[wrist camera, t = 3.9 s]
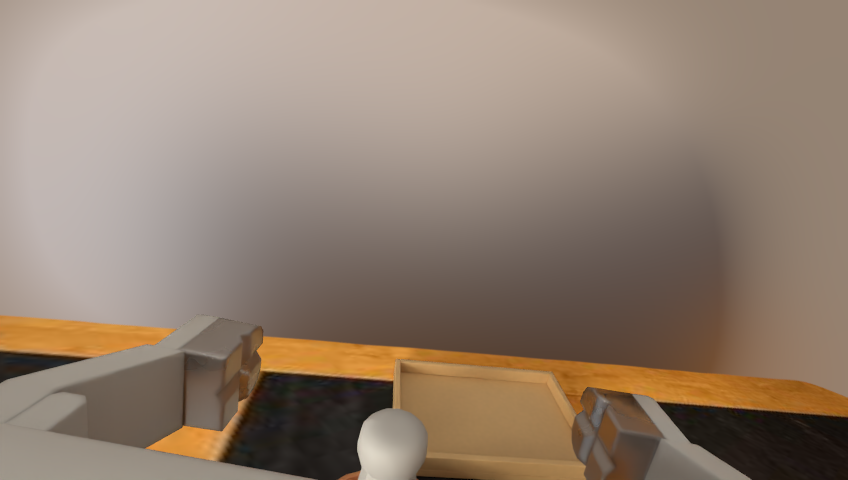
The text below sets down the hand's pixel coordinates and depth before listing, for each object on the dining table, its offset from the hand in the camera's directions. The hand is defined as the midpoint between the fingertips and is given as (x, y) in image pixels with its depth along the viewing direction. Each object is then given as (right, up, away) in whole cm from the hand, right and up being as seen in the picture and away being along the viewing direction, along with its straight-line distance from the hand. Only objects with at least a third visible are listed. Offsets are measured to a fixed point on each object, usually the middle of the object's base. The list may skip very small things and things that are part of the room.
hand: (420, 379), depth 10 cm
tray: (+7, -17, +33) cm, 38 cm away
